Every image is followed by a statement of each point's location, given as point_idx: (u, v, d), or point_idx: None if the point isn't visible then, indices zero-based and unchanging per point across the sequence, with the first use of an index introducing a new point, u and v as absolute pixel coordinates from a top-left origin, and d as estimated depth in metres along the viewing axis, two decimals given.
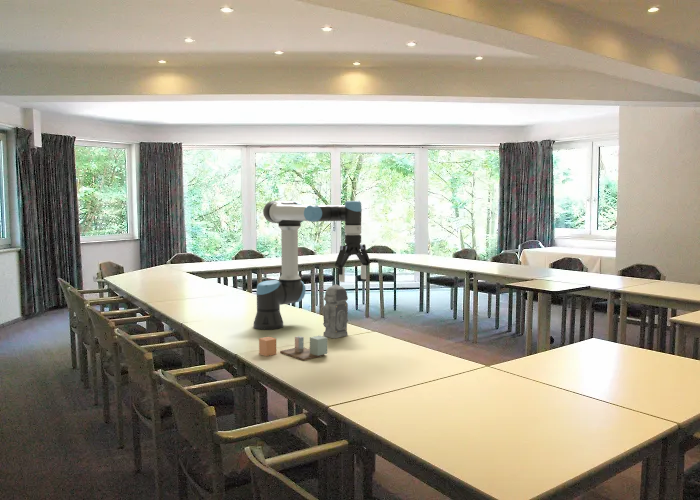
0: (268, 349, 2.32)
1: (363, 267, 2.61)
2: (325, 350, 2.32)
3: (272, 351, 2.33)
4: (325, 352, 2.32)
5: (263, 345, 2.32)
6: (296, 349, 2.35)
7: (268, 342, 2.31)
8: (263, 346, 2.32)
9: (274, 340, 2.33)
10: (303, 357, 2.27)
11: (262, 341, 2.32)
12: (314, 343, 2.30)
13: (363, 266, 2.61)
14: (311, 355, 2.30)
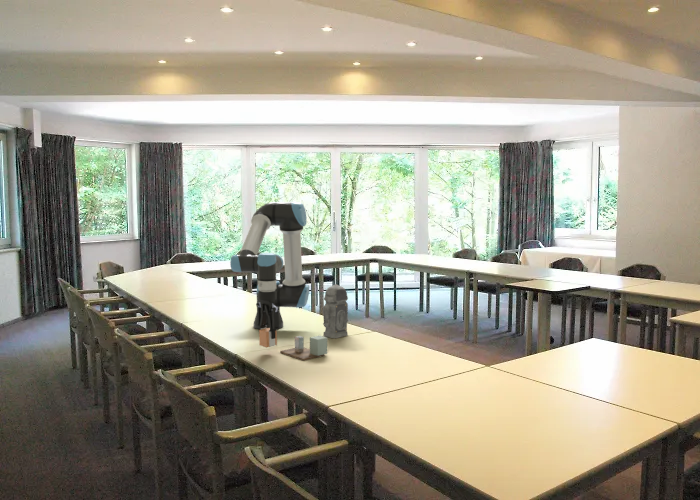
0: (268, 340, 2.32)
1: None
2: (325, 350, 2.32)
3: None
4: (325, 352, 2.32)
5: (263, 337, 2.32)
6: (296, 349, 2.35)
7: (268, 333, 2.31)
8: (263, 337, 2.32)
9: None
10: (303, 357, 2.27)
11: (262, 332, 2.33)
12: (314, 343, 2.30)
13: None
14: (311, 355, 2.30)
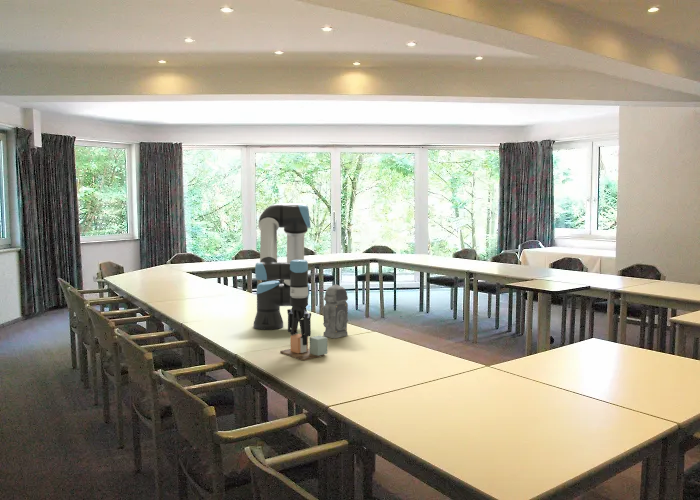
0: None
1: None
2: (325, 350, 2.32)
3: None
4: (325, 352, 2.32)
5: (295, 342, 2.33)
6: None
7: None
8: (295, 343, 2.33)
9: None
10: (303, 357, 2.27)
11: (294, 338, 2.34)
12: (314, 343, 2.30)
13: None
14: (311, 355, 2.30)
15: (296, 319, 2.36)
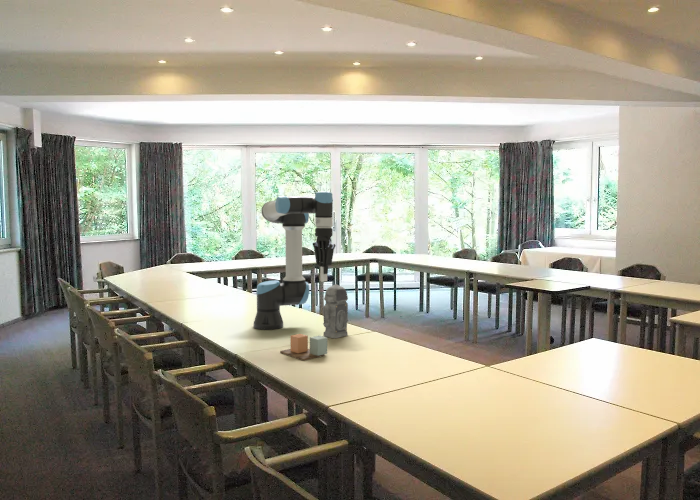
0: (300, 346, 2.33)
1: None
2: (325, 350, 2.32)
3: (304, 348, 2.34)
4: (325, 352, 2.32)
5: (295, 342, 2.33)
6: None
7: (300, 339, 2.32)
8: (295, 343, 2.33)
9: (306, 337, 2.34)
10: (303, 357, 2.27)
11: (294, 338, 2.34)
12: (314, 343, 2.30)
13: None
14: (311, 355, 2.30)
15: None
